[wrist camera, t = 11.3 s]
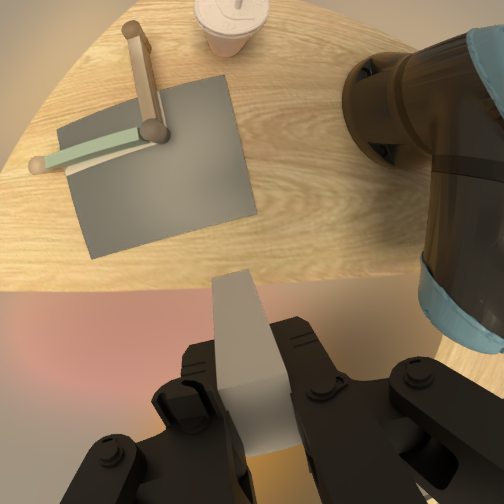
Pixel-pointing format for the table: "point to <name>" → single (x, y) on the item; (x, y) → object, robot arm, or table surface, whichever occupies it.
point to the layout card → (160, 170)
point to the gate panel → (86, 151)
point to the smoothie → (230, 22)
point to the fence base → (145, 84)
